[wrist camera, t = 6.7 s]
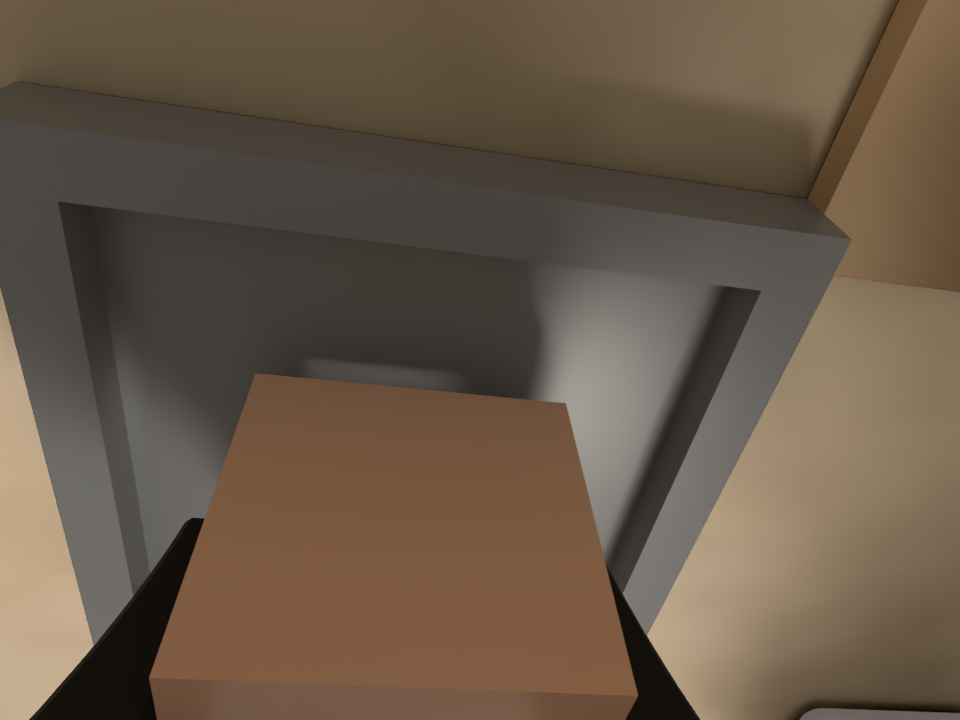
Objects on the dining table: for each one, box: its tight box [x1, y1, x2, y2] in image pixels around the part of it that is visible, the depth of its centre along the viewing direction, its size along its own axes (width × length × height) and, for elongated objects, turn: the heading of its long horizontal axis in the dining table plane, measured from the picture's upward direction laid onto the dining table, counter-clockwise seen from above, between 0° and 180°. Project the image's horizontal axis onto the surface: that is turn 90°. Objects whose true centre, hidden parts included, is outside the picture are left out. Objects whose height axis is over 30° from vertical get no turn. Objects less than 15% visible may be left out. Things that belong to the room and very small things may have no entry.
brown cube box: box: [149, 373, 638, 720], centre depth 11 cm, size 5×6×5 cm
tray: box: [0, 82, 852, 645], centre depth 13 cm, size 12×12×2 cm
